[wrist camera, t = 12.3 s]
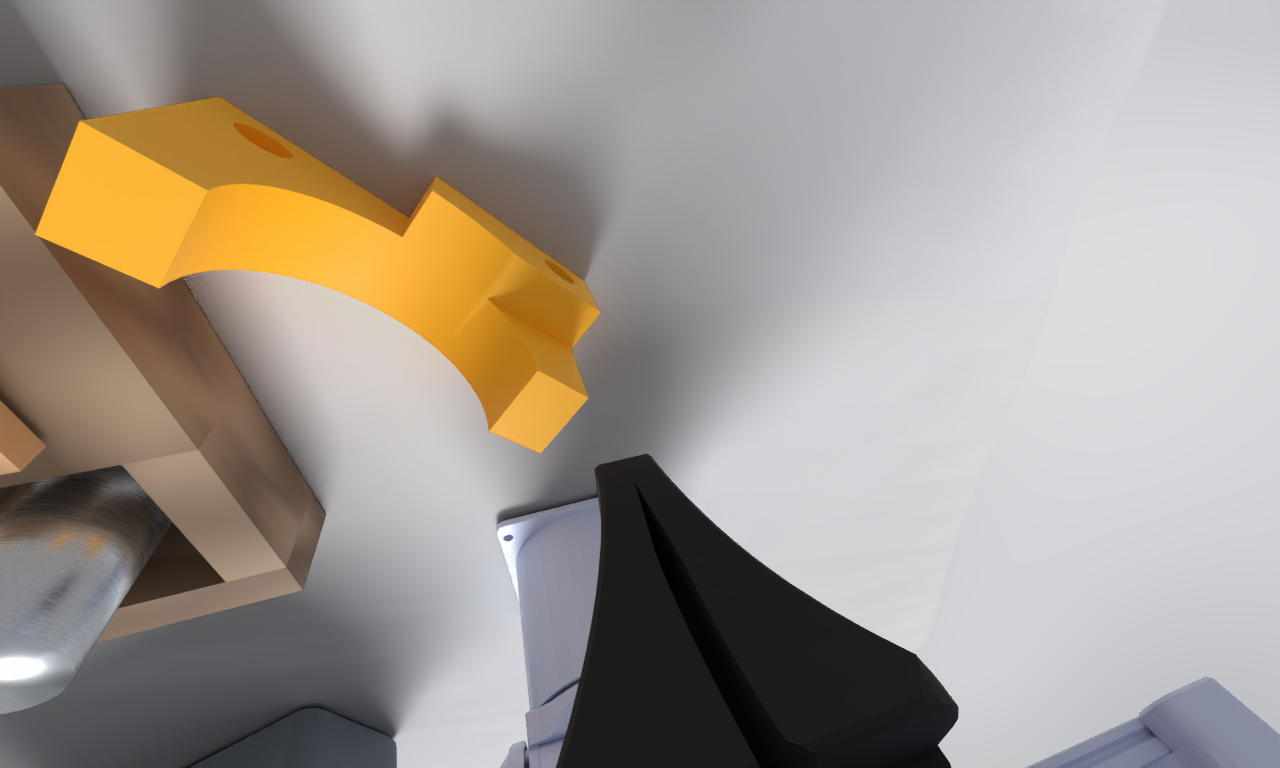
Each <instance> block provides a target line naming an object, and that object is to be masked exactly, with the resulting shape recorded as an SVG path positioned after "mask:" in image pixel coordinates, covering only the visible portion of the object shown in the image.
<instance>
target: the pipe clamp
mask: <svg viewBox="0 0 1280 768" xmlns="http://www.w3.org/2000/svg"><path fill="white" fill-rule="evenodd" d="M35 235H37V236H39V237H41V238H44V239H46V240H48V241H51V242H53V243H55V244H58V245H60V246H62V247H65V248H67V249H69V250H71V251H74V252H76V253H78V254H81V255H83V256H85V257H88V258H90V259H92V260H95V261H97V262H99V263H102V264H104V265H106V266H108V267H111V268H113V269H115V270H118V271H120V272H122V273H125V274H127V275H129V276H132V277H134V278H136V279H138V280H141V281H143V282H145V283H148V284H150V285H152V286H155V287H157V288H161V287H162V286H164V285H166V284H167V283H169V282H171V281H173V280H175V279H178V278H180V277H183V276H186V275H190V274H194V273H198V272H205V271H212V270H250V271H260V272H267V273H274V274H279V275H284V276H289V277H294V278H297V279H301V280H305V281H309V282H312V283H315V284H318V285H322V286H325V287H328V288H330V289H333V290H336V291H339V292H341V293H344V294H346V295H348V296H351V297H353V298H356V299H358V300H360V301H362V302H364V303H366V304H369V305H371V306H373V307H374V308H376V309H378V310H380V311H382V312H384V313H386V314H388V315H389V316H391V317H393V318H395V319H396V320H398V321H399V322H401V323H403V324H404V325H406V326H407V327H409V328H410V329H412V330H413V331H415V332H416V333H418V334H419V335H420V336H422V337H423V338H424V339H426V340H427V341H428V342H430V343H431V344H432V345H433V346H434V347H436V348H437V349H438V350H439V351H440V352H441V353H442V354H443V355H445V356H446V357H447V358H448V359H449V360H450V361H451V362H452V363H453V364H454V365H455V366H456V367H457V368H458V370H459V371H460V372H461V373H462V374H463V376H464V377H465V378H466V379H467V381H468V382H469V383H470V385H471V386H472V388H473V389H474V391H475V392H476V394H477V396H478V398H479V400H480V402H481V403H482V406H483V408H484V411H485V413H486V417H487V421H488V427H489V431H490V432H492V433H494V434H497V435H499V436H501V437H504V438H506V439H508V440H511V441H513V442H515V443H517V444H520V445H522V446H524V447H527V448H529V449H531V450H534V451H536V452H538V453H542V452H543V450H544V449H545V448H546V447H547V446H548V445H549V443H550V442H551V441H552V440H553V439H554V438H555V436H556V435H557V434H558V433H559V432H560V431H561V429H562V428H563V427H564V426H565V425H566V424H567V423H568V421H569V420H570V419H571V418H572V417H573V416H574V414H575V413H576V412H577V411H578V410H579V409H580V407H581V406H582V405H583V404H584V403H585V402H586V400H587V399H588V398H589V397H588V395H587V392H586V389H585V386H584V383H583V380H582V378H581V375H580V372H579V369H578V366H577V363H576V360H575V358H574V355H573V352H572V348H573V346H574V345H575V344H576V343H577V341H578V340H579V339H580V338H581V337H582V335H583V334H584V333H585V332H586V330H587V329H588V328H589V327H590V326H591V324H592V323H593V322H594V321H595V319H596V318H597V317H598V316H599V315H600V313H601V312H600V310H599V308H598V306H597V304H596V302H595V300H594V299H593V297H592V295H591V293H590V291H589V289H588V287H587V285H586V283H585V281H584V280H582V279H581V278H580V277H578V276H577V275H575V274H574V273H572V272H571V271H570V270H568V269H567V268H565V267H564V266H563V265H561V264H560V263H558V262H557V261H556V260H554V259H553V258H551V257H550V256H549V255H547V254H546V253H544V252H543V251H542V250H540V249H539V248H537V247H536V246H535V245H533V244H532V243H530V242H529V241H527V240H526V239H525V238H523V237H522V236H520V235H519V234H518V233H516V232H515V231H513V230H512V229H511V228H509V227H508V226H506V225H505V224H504V223H502V222H501V221H499V220H498V219H497V218H495V217H494V216H492V215H491V214H489V213H488V212H487V211H485V210H484V209H482V208H481V207H480V206H478V205H477V204H475V203H474V202H473V201H471V200H470V199H468V198H467V197H466V196H464V195H463V194H461V193H460V192H459V191H457V190H456V189H454V188H453V187H451V186H450V185H449V184H447V183H446V182H444V181H443V180H442V179H440V178H439V177H437V176H436V177H435V178H434V180H433V182H432V183H431V185H430V186H429V188H428V189H427V191H426V192H425V194H424V196H423V197H422V199H421V200H420V202H419V203H418V205H417V207H416V208H415V210H414V211H413V213H412V214H411V216H410V218H409V217H407V216H406V215H404V214H403V213H401V212H400V211H398V210H396V209H395V208H393V207H392V206H390V205H389V204H387V203H386V202H384V201H382V200H381V199H379V198H378V197H376V196H375V195H373V194H371V193H370V192H368V191H367V190H365V189H364V188H362V187H360V186H359V185H357V184H356V183H354V182H353V181H351V180H350V179H348V178H346V177H345V176H343V175H342V174H340V173H339V172H337V171H335V170H334V169H332V168H331V167H329V166H328V165H326V164H325V163H323V162H321V161H320V160H318V159H317V158H315V157H314V156H312V155H310V154H309V153H307V152H306V151H304V150H303V149H301V148H300V147H298V146H296V145H295V144H293V143H292V142H290V141H289V140H287V139H285V138H284V137H282V136H281V135H279V134H278V133H276V132H275V131H273V130H271V129H270V128H268V127H267V126H265V125H264V124H262V123H260V122H259V121H257V120H256V119H254V118H253V117H251V116H249V115H248V114H246V113H245V112H243V111H242V110H240V109H239V108H237V107H235V106H234V105H232V104H231V103H229V102H228V101H226V100H224V99H223V98H221V97H214V98H208V99H203V100H197V101H191V102H185V103H179V104H174V105H168V106H162V107H156V108H151V109H145V110H139V111H133V112H128V113H122V114H116V115H110V116H104V117H99V118H93V119H87V120H81V121H79V124H78V126H77V129H76V131H75V134H74V136H73V139H72V141H71V144H70V147H69V149H68V152H67V154H66V157H65V159H64V162H63V164H62V167H61V169H60V172H59V175H58V177H57V180H56V182H55V185H54V187H53V190H52V192H51V195H50V197H49V200H48V202H47V205H46V208H45V210H44V213H43V215H42V218H41V220H40V223H39V225H38V228H37V230H36V233H35Z"/></svg>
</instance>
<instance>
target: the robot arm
mask: <svg viewBox="0 0 1280 768" xmlns="http://www.w3.org/2000/svg"><path fill="white" fill-rule="evenodd" d="M595 477H596V485H597V493H598V497H597V498H593V499H589V500H585V501H581V502H577V503H573V504H569V505H565V506H561V507H557V508H553V509H549V510H545V511H541V512H537V513H533V514H529V515H525V516H521V517H517V518H513V519H509V520H505V521H502V522H500V523H499V524H498V525H497V527H496V530H497V536H498V539H499V542H500V545H501V549H502V552H503V555H504V558H505V561H506V564H507V567H508V570H509V574H510V577H511V580H512V583H513V586H514V589H515V592H516V596H517V599H518V602H519V605H520V613H521V623H522V633H523V643H524V653H525V664H526V674H527V684H528V694H529V704H530V711H528V712H527V713H526V726H527V737H528V747H529V749H528V748H527V745H526V742H525V741H522V742H518V743H515V744H513V745H512V746H511V748H510V750H509V755H508V756H507V757H506V759H505V760H504V762H503V764H502V765H501V767H500V768H951V765H950V763H949V761H948V760H947V758H946V757H945V755H944V754H943V752H942V751H941V750H940V748H939V747H938V744H939V742H940V741H941V740H942V739H943V738H944V737H945V736H946V734H947V733H948V732H949V731H950V729H951V728H952V727H953V726H954V724H955V723H956V721H957V719H958V706H957V704H956V703H955V702H954V700H953V699H952V698H951V696H950V695H949V694H948V692H947V691H946V690H945V688H944V687H943V685H942V684H941V683H940V682H939V680H938V679H937V678H936V677H935V676H934V674H933V673H932V672H931V671H930V670H929V669H928V668H927V667H926V666H925V665H924V664H923V662H922V661H921V660H920V659H919V658H918V657H917V655H916V654H914V653H912V652H910V651H908V650H906V649H904V648H902V647H900V646H898V645H896V644H894V643H892V642H890V641H888V640H886V639H884V638H882V637H880V636H878V635H876V634H874V633H872V632H870V631H869V630H867V629H865V628H863V627H861V626H859V625H858V624H856V623H854V622H852V621H851V620H849V619H847V618H845V617H844V616H842V615H840V614H838V613H837V612H835V611H833V610H831V609H830V608H828V607H827V606H825V605H823V604H822V603H820V602H819V601H817V600H816V599H814V598H812V597H811V596H809V595H808V594H806V593H805V592H803V591H801V590H800V589H798V588H797V587H795V586H794V585H792V584H790V583H789V582H788V581H786V580H785V579H783V578H782V577H780V576H779V575H778V574H776V573H775V572H773V571H772V570H771V569H769V568H768V567H766V566H765V565H764V564H763V563H761V562H760V561H759V560H757V559H756V558H755V557H753V556H752V555H751V554H749V553H748V552H747V551H746V550H744V549H743V548H742V547H741V546H740V545H738V544H737V543H736V542H735V541H734V540H732V539H731V538H730V537H729V536H728V535H727V534H726V533H724V532H723V531H722V530H721V529H720V528H719V527H718V526H716V525H715V524H714V523H713V522H712V521H711V520H710V519H709V518H708V517H707V516H706V515H705V514H704V513H703V512H702V511H701V510H700V509H699V508H698V507H697V506H695V505H694V504H693V503H692V502H691V501H690V500H689V499H688V498H687V497H686V495H685V494H684V493H683V492H682V491H681V490H680V489H679V488H678V487H677V486H676V485H675V484H674V483H673V482H672V481H671V479H670V478H669V477H668V476H667V475H666V474H665V473H664V471H663V470H662V469H661V468H660V467H659V465H658V464H657V463H656V462H655V461H654V459H653V458H652V457H651V456H650V455H648V454H644V455H639V456H635V457H631V458H627V459H622V460H618V461H614V462H609V463H605V464H601V465H598V466H597V467H596V469H595ZM506 535H508V536H506ZM1026 768H1280V734H1278V733H1277V732H1276V731H1275V730H1274V729H1272V728H1271V727H1270V726H1269V725H1268V724H1266V723H1265V722H1264V721H1263V720H1262V719H1261V718H1259V717H1258V716H1257V715H1256V714H1255V713H1253V712H1252V711H1251V710H1250V709H1249V708H1247V707H1246V706H1245V705H1244V704H1243V703H1242V702H1240V701H1239V700H1238V699H1237V698H1236V697H1234V696H1233V695H1232V694H1231V693H1230V692H1229V691H1227V690H1226V689H1225V688H1224V687H1223V686H1221V685H1220V684H1219V683H1217V681H1215V680H1214V679H1213V678H1209V677H1204V678H1202V679H1200V680H1198V681H1195V682H1193V683H1191V684H1188V685H1186V686H1184V687H1182V688H1180V689H1177V690H1175V691H1173V692H1171V693H1169V694H1167V695H1165V696H1163V697H1161V698H1160V699H1158V700H1156V701H1155V702H1153V703H1152V704H1150V705H1149V706H1148V707H1146V708H1145V709H1144V710H1143V711H1141V712H1140V714H1139V717H1136V718H1134V719H1132V720H1130V721H1127V722H1125V723H1123V724H1121V725H1119V726H1116V727H1114V728H1112V729H1110V730H1108V731H1106V732H1103V733H1101V734H1099V735H1097V736H1095V737H1092V738H1090V739H1088V740H1086V741H1084V742H1082V743H1079V744H1077V745H1075V746H1073V747H1070V748H1068V749H1066V750H1064V751H1062V752H1059V753H1057V754H1055V755H1053V756H1051V757H1049V758H1046V759H1044V760H1042V761H1040V762H1037V763H1035V764H1033V765H1031V766H1029V767H1026Z"/></svg>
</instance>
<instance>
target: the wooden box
mask: <svg viewBox="0 0 1280 768" xmlns="http://www.w3.org/2000/svg"><path fill="white" fill-rule="evenodd" d="M81 120H86V119H85V118H84V116H83V114H82V113H81V111H80V109H79V108H78V106H77V104H76V103H75V101H74V100H73V98H72V96H71V95H70V93H69V91H68V90H67V88H66V86H65V85H64V84H45V85H26V86H6V87H0V400H1V401H2V402H3V403H4V404H5V405H6V406H7V407H8V408H9V409H10V410H11V411H12V412H13V413H14V414H15V415H16V416H17V417H18V418H19V419H20V420H21V421H22V422H23V423H24V424H25V425H26V426H27V427H28V428H29V429H30V430H31V431H32V432H33V433H34V434H35V435H36V436H37V437H38V438H39V439H40V440H41V441H42V442H43V443H44V444H45V445H46V446H47V447H46V448H45V449H44V450H42V451H41V452H40V453H39V454H38V455H37V456H36V457H35V458H34V459H33V460H32V461H31V462H30V463H29V464H28V465H27V466H26V467H25V468H24V469H23V470H22V471H19V472H14V473H8V474H3V475H0V505H1V504H2V503H3V502H4V501H5V500H6V499H7V498H8V497H9V496H10V495H11V494H12V493H13V492H14V491H15V490H16V489H17V488H19V487H20V486H21V485H22V484H23V483H29V482H34V481H39V480H44V479H49V478H55V477H60V476H65V475H70V474H75V473H81V472H86V471H91V470H96V469H101V468H107V467H112V466H117V465H122V466H123V467H124V468H125V469H126V470H127V471H128V472H129V474H130V475H131V476H132V477H133V478H134V479H135V480H136V481H137V483H138V484H139V485H140V486H141V487H142V488H143V489H144V490H145V492H146V493H147V494H148V495H149V496H150V497H151V498H152V499H153V501H154V502H155V503H156V504H157V505H158V506H159V507H160V508H161V510H162V511H163V512H164V513H165V514H166V515H167V516H168V517H169V519H170V520H171V521H172V522H173V523H171V524H170V526H169V528H168V529H167V531H166V532H165V534H164V535H163V537H162V539H161V540H160V542H159V543H158V545H157V547H156V548H155V550H154V551H153V553H152V554H151V556H150V558H149V559H148V561H147V562H146V564H145V566H144V567H143V569H142V570H141V572H140V573H139V575H138V577H137V578H136V580H135V581H134V583H133V585H132V586H131V588H130V589H129V591H128V592H127V594H126V596H125V597H124V599H123V600H122V602H121V604H120V605H119V607H118V608H117V610H116V611H115V613H114V615H113V616H112V618H111V619H110V621H109V623H108V624H107V626H106V627H105V629H104V630H103V632H102V634H101V635H100V637H99V638H98V640H97V642H96V643H99V642H103V641H107V640H111V639H115V638H119V637H123V636H126V635H130V634H134V633H138V632H142V631H146V630H150V629H154V628H158V627H162V626H166V625H169V624H173V623H177V622H181V621H185V620H189V619H193V618H197V617H201V616H205V615H208V614H212V613H216V612H220V611H224V610H228V609H232V608H236V607H240V606H244V605H248V604H251V603H255V602H259V601H263V600H267V599H271V598H275V597H279V596H283V595H287V594H291V593H294V592H298V591H302V590H303V589H304V586H305V583H306V579H307V576H308V573H309V569H310V566H311V563H312V559H313V556H314V553H315V550H316V546H317V543H318V540H319V536H320V533H321V530H322V527H323V523H324V520H325V517H326V514H325V512H324V510H323V509H322V507H321V505H320V504H319V502H318V501H317V499H316V497H315V496H314V494H313V492H312V491H311V489H310V487H309V486H308V484H307V482H306V481H305V479H304V478H303V476H302V474H301V473H300V471H299V469H298V468H297V466H296V464H295V463H294V461H293V459H292V458H291V456H290V455H289V453H288V451H287V450H286V448H285V446H284V445H283V443H282V441H281V440H280V438H279V436H278V435H277V433H276V432H275V430H274V428H273V427H272V425H271V423H270V422H269V420H268V418H267V417H266V415H265V413H264V412H263V410H262V408H261V407H260V405H259V404H258V402H257V400H256V399H255V397H254V395H253V394H252V392H251V390H250V389H249V387H248V385H247V384H246V382H245V381H244V379H243V377H242V376H241V374H240V372H239V371H238V369H237V367H236V366H235V364H234V362H233V361H232V359H231V358H230V356H229V354H228V353H227V351H226V349H225V348H224V346H223V344H222V343H221V341H220V339H219V338H218V336H217V335H216V333H215V331H214V330H213V328H212V326H211V325H210V323H209V321H208V320H207V318H206V316H205V315H204V313H203V312H202V310H201V308H200V307H199V305H198V303H197V302H196V300H195V298H194V297H193V295H192V293H191V292H190V290H189V289H188V287H187V285H186V284H185V282H184V280H183V279H182V277H180V278H178V279H175V280H173V281H171V282H169V283H167V284H166V285H164V286H162V287H161V288H157V287H155V286H152V285H150V284H148V283H145V282H143V281H141V280H138V279H136V278H134V277H132V276H129V275H127V274H125V273H122V272H120V271H118V270H115V269H113V268H111V267H108V266H106V265H104V264H102V263H99V262H97V261H95V260H92V259H90V258H88V257H85V256H83V255H81V254H78V253H76V252H74V251H71V250H69V249H67V248H65V247H62V246H60V245H58V244H55V243H53V242H51V241H48V240H46V239H44V238H41V237H39V236H37V235H35V233H36V230H37V228H38V225H39V223H40V220H41V218H42V215H43V213H44V210H45V208H46V205H47V202H48V200H49V197H50V195H51V192H52V190H53V187H54V185H55V182H56V180H57V177H58V175H59V172H60V169H61V167H62V164H63V162H64V159H65V157H66V154H67V152H68V149H69V147H70V144H71V141H72V139H73V136H74V134H75V131H76V129H77V126H78V124H79V121H81Z"/></svg>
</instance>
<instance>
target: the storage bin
mask: <svg viewBox="0 0 1280 768" xmlns="http://www.w3.org/2000/svg"><path fill="white" fill-rule="evenodd" d="M190 768H397V754H396V743H395V741H394V740H393V739H392V738H390V737H389V736H387V735H384V734H382V733H379V732H377V731H374V730H372V729H370V728H367V727H365V726H362V725H360V724H357V723H355V722H352V721H350V720H347V719H345V718H343V717H340V716H338V715H336V714H333V713H331V712H329V711H327V710H324V709H319V708H306V709H302V710H299V711H297V712H294V713H292V714H291V715H289V716H287V717H285V718H283V719H281V720H279V721H277V722H276V723H274V724H272V725H270V726H268V727H266V728H264V729H262V730H260V731H258V732H257V733H255V734H253V735H251V736H249V737H247V738H245V739H243V740H241V741H239V742H238V743H236V744H234V745H232V746H230V747H228V748H226V749H224V750H222V751H220V752H218V753H217V754H215V755H213V756H211V757H209V758H207V759H205V760H203V761H201V762H199V763H197V764H195V765H194V766H192V767H190Z"/></svg>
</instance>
